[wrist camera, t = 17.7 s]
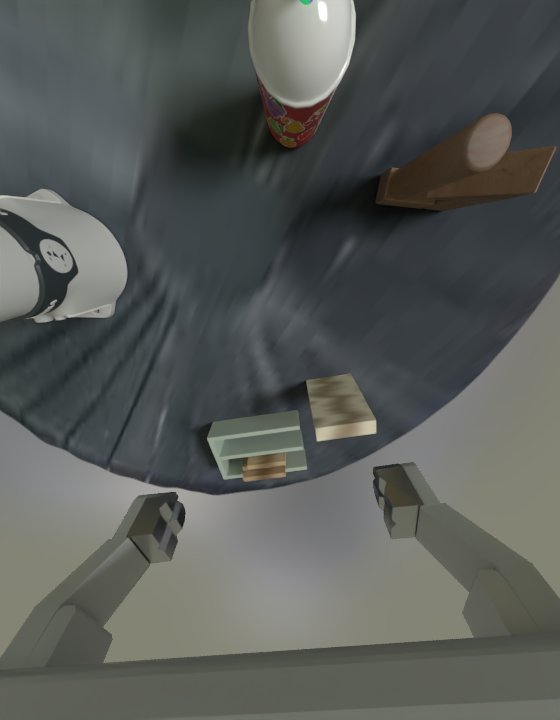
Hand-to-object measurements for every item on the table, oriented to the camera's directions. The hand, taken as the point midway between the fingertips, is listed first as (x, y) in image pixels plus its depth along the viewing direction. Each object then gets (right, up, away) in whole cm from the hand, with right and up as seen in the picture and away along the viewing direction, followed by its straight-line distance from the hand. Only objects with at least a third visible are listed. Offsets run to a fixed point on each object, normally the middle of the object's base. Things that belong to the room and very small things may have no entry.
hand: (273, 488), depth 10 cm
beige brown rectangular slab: (+10, +1, +39) cm, 40 cm away
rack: (-4, -12, +45) cm, 47 cm away
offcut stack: (-3, -15, +46) cm, 49 cm away
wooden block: (+20, +30, +25) cm, 43 cm away
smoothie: (+2, +37, +21) cm, 43 cm away
